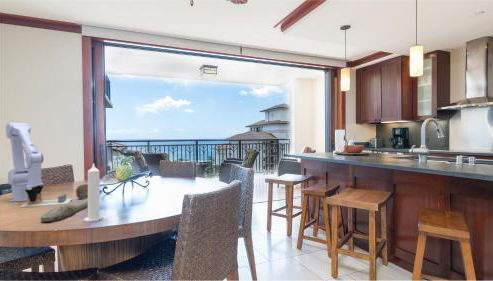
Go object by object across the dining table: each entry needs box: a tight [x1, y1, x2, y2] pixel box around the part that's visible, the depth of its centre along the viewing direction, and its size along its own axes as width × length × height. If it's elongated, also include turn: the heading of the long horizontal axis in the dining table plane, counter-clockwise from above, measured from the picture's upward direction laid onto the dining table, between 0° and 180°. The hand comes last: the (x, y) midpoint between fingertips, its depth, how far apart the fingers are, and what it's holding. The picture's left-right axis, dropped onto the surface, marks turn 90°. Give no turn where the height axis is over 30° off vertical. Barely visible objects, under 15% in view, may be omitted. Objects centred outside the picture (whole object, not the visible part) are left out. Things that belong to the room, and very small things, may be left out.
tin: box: [75, 182, 88, 200], centre depth 163 cm, size 15×3×8 cm, turn 168°
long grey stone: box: [40, 198, 88, 223], centre depth 131 cm, size 35×5×10 cm
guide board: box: [18, 193, 74, 208], centre depth 148 cm, size 12×21×4 cm, turn 110°
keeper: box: [26, 192, 43, 204], centre depth 146 cm, size 4×5×4 cm
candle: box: [83, 162, 104, 223], centre depth 120 cm, size 7×7×25 cm
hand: (34, 200), depth 146 cm, fingers closed on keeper, 4 cm apart
